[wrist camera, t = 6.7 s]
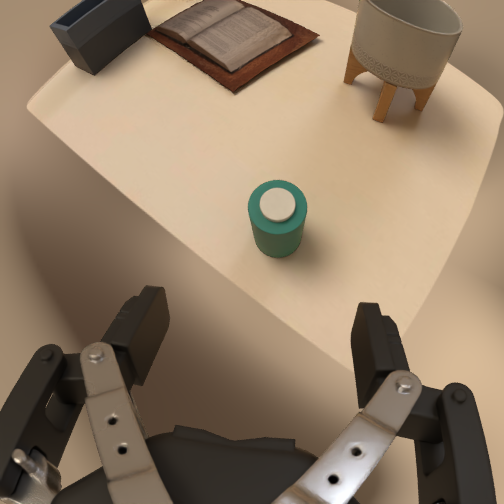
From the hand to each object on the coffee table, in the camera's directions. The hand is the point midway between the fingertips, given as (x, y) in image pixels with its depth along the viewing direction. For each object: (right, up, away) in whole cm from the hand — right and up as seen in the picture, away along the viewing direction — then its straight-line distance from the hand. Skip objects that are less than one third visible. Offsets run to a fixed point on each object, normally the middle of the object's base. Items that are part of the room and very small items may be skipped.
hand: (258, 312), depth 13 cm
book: (-5, +42, +35) cm, 55 cm away
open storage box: (-28, +44, +38) cm, 64 cm away
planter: (+20, +27, +29) cm, 44 cm away
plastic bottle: (+3, +4, +24) cm, 25 cm away
